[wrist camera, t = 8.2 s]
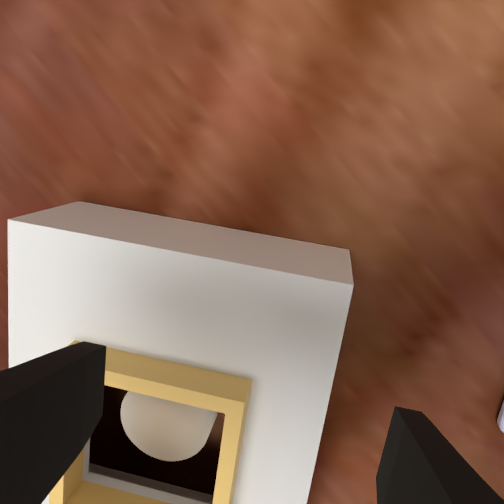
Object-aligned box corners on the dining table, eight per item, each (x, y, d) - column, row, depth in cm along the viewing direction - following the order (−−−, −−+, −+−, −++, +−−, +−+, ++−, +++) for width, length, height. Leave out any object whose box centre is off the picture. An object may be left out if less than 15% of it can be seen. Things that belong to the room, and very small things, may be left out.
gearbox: (349, 249, 20) (355, 300, 14) (290, 531, 24) (275, 666, 18) (23, 190, 22) (-99, 212, 16) (22, 459, 26) (-73, 558, 20)
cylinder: (235, 346, 22) (213, 390, 18) (225, 415, 23) (204, 470, 20) (158, 331, 23) (122, 370, 19) (153, 399, 24) (118, 449, 20)
